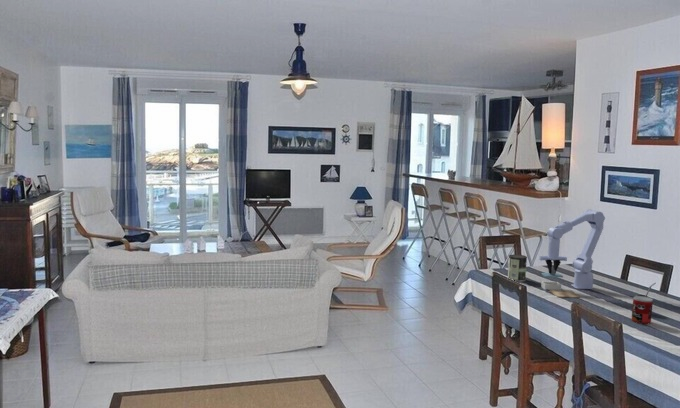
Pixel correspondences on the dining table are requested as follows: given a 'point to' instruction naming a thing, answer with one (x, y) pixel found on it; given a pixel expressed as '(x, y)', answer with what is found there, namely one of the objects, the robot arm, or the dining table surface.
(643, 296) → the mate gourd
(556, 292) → the mat
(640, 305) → the canned food
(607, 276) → the dining table surface
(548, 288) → the box
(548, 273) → the lid
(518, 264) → the coffee can
